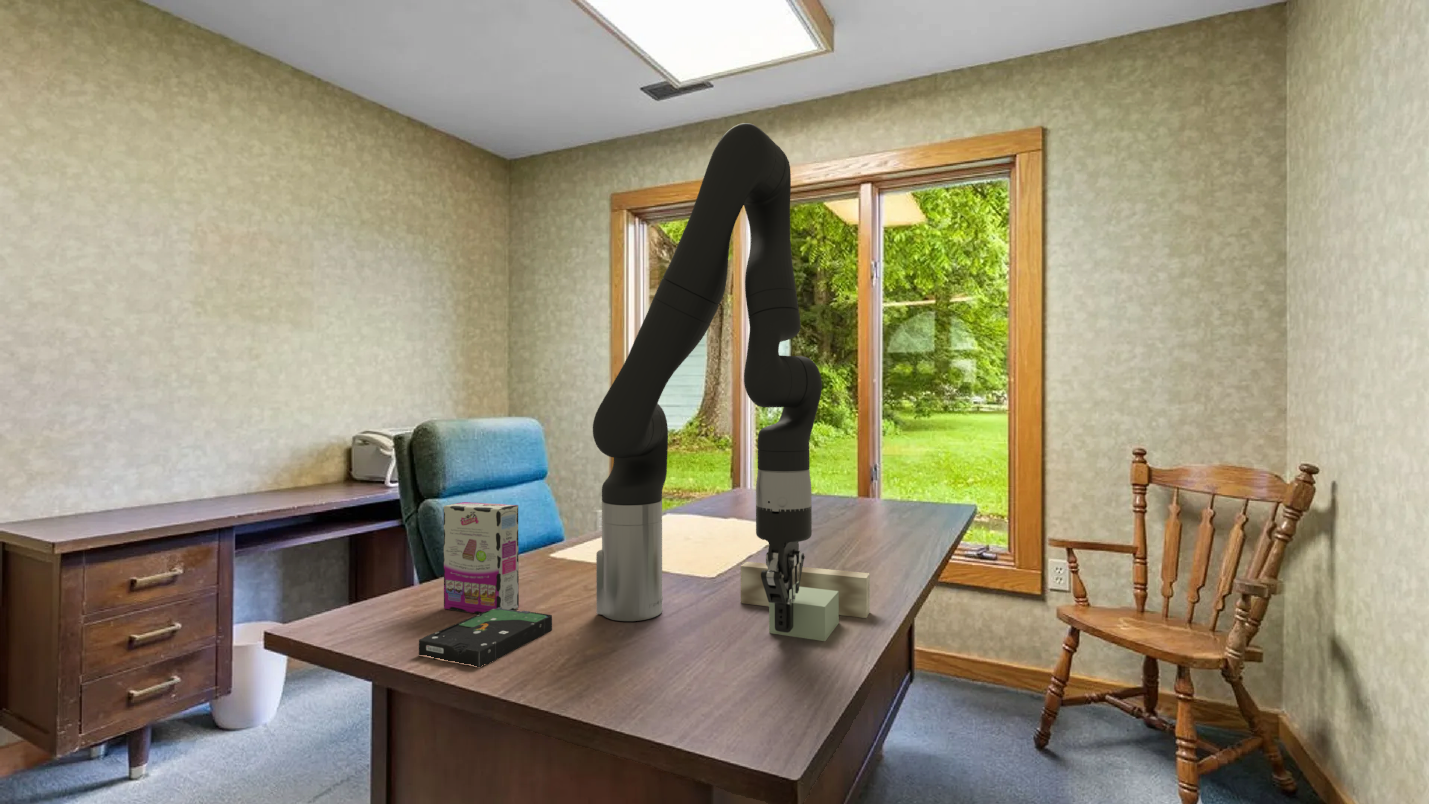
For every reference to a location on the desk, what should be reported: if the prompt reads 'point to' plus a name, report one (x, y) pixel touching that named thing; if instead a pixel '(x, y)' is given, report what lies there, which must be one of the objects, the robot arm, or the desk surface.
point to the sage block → (811, 614)
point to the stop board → (846, 582)
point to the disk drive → (486, 636)
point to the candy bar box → (480, 557)
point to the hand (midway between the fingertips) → (784, 630)
